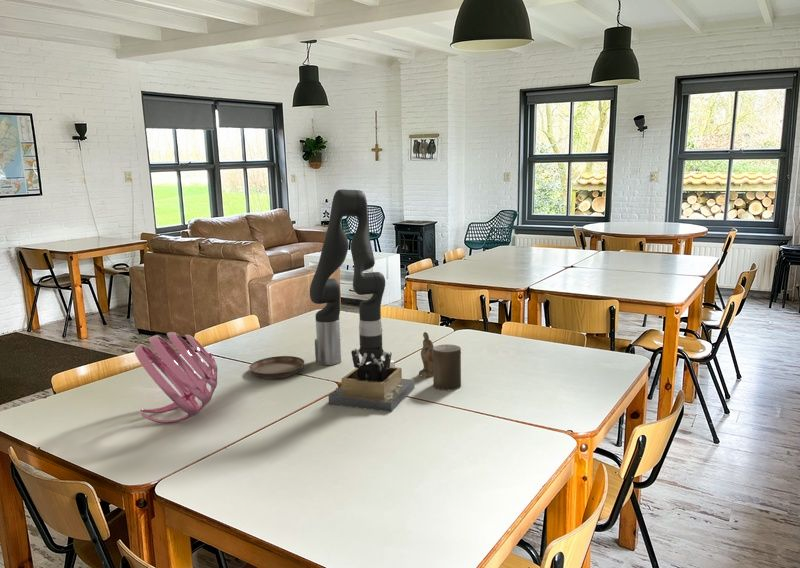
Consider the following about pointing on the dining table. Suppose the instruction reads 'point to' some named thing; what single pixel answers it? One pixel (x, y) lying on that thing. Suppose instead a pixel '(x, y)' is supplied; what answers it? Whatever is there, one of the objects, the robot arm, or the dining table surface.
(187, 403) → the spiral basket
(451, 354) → the pillar candle
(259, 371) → the plant saucer
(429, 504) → the dining table surface
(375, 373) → the digital camera
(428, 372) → the worn brown figurine
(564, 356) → the dining table surface
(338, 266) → the robot arm
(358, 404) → the square wooden box
